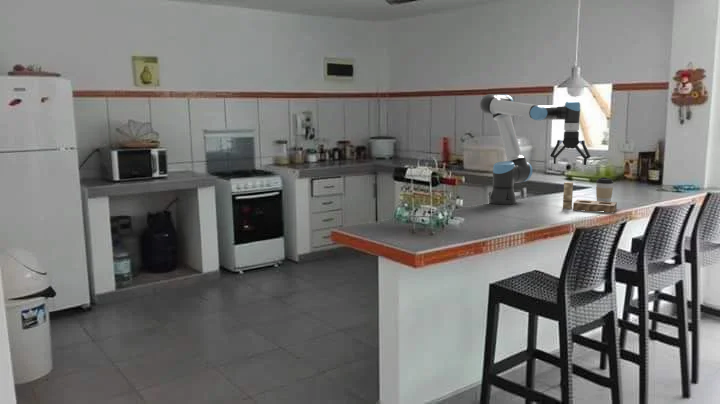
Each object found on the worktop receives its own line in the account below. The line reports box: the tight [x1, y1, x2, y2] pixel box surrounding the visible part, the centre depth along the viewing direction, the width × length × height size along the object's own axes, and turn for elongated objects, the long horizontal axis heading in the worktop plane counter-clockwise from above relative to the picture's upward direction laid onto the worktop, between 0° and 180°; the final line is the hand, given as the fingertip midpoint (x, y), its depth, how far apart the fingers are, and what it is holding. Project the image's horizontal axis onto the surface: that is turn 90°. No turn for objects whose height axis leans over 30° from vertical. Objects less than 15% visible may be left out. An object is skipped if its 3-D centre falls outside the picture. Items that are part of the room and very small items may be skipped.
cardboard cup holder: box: [572, 199, 618, 213], centre depth 310 cm, size 20×12×4 cm, turn 61°
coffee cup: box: [595, 177, 615, 202], centre depth 325 cm, size 9×9×15 cm
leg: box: [562, 181, 574, 210], centre depth 316 cm, size 4×4×14 cm
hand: (569, 170), depth 314 cm, fingers open, 13 cm apart
